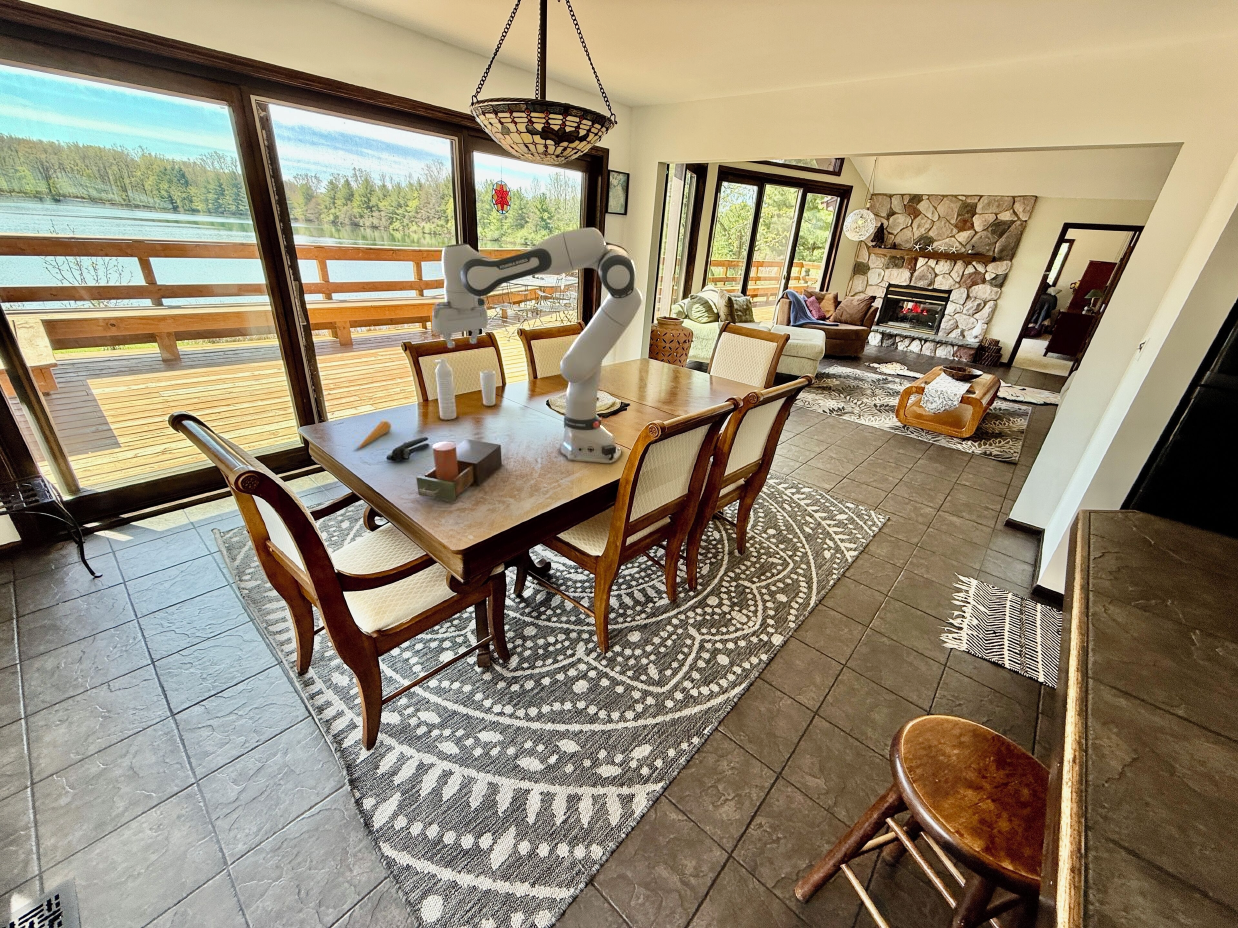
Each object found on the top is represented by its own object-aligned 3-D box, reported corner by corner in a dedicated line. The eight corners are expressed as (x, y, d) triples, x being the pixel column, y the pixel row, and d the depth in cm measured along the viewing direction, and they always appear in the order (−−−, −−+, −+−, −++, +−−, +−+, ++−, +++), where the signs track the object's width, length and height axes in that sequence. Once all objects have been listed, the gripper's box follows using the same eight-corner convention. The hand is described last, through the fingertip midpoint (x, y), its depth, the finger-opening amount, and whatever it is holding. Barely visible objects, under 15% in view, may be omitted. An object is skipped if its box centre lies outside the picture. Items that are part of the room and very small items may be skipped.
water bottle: (444, 414, 205) (438, 355, 194) (459, 415, 204) (453, 357, 194) (435, 421, 197) (428, 360, 186) (450, 422, 197) (444, 362, 186)
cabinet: (478, 485, 150) (476, 463, 147) (442, 479, 153) (439, 456, 150) (501, 465, 164) (500, 444, 161) (468, 459, 167) (466, 438, 163)
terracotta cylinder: (463, 482, 148) (460, 443, 142) (452, 491, 142) (448, 451, 136) (445, 478, 149) (441, 440, 143) (432, 488, 143) (428, 448, 138)
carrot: (385, 430, 186) (379, 420, 184) (395, 428, 185) (388, 417, 183) (355, 456, 169) (348, 445, 167) (365, 453, 168) (358, 442, 166)
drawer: (445, 509, 135) (443, 490, 133) (409, 501, 138) (406, 483, 135) (479, 480, 152) (478, 463, 149) (446, 474, 154) (445, 457, 152)
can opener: (401, 466, 159) (398, 451, 156) (384, 462, 161) (381, 447, 158) (437, 447, 174) (435, 433, 171) (421, 444, 176) (419, 429, 174)
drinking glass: (485, 401, 223) (483, 369, 217) (499, 402, 222) (497, 371, 216) (479, 405, 217) (477, 373, 210) (493, 407, 216) (492, 374, 210)
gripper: (440, 304, 139) (444, 352, 145) (490, 299, 156) (491, 342, 162) (425, 301, 142) (429, 348, 148) (475, 297, 158) (478, 339, 164)
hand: (462, 345), depth 155 cm, fingers open, 8 cm apart
